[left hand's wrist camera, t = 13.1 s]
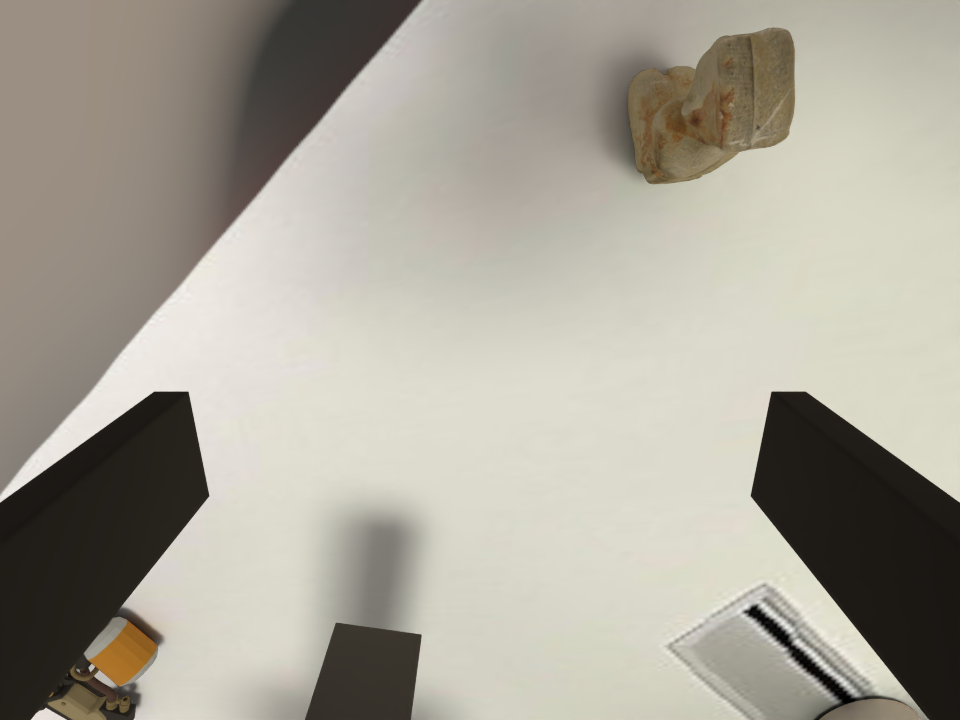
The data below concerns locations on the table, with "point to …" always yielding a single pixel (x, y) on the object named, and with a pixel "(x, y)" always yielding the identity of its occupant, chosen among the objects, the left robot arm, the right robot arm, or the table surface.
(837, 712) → the bust sculpture
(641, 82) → the sculpture
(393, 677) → the bar
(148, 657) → the spray gun
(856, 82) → the table surface
